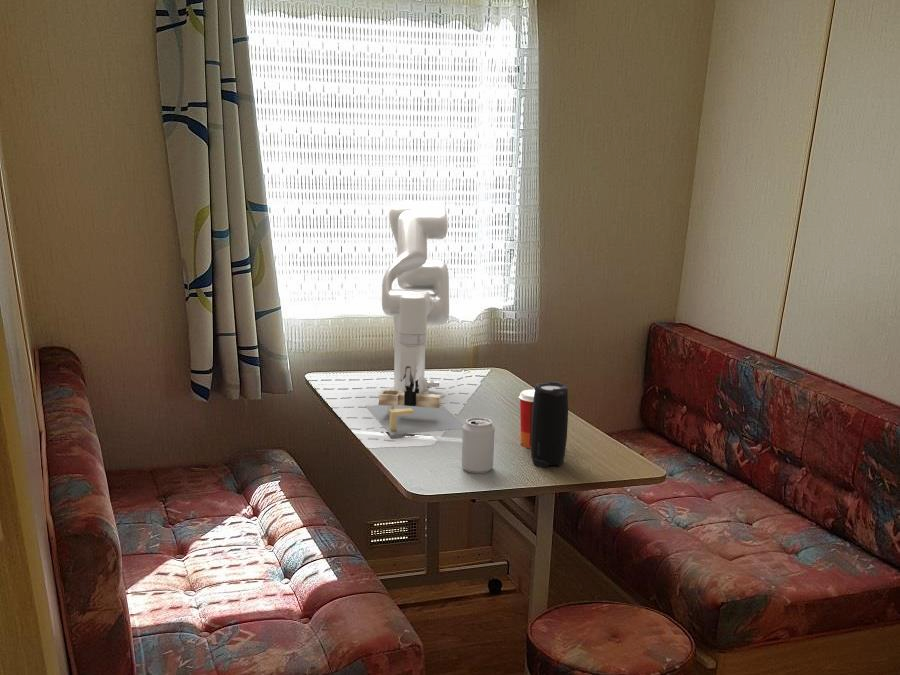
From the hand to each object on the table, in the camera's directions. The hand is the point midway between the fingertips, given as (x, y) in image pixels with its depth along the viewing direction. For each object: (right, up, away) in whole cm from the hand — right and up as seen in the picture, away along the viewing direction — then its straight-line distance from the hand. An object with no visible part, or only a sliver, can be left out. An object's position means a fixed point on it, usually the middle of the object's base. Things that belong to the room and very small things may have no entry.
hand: (411, 403), depth 226 cm
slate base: (+1, -5, +2) cm, 5 cm away
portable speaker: (+34, -12, -29) cm, 46 cm away
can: (+17, -13, -34) cm, 40 cm away
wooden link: (0, 0, 0) cm, 1 cm away
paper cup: (+32, -10, -16) cm, 37 cm away
